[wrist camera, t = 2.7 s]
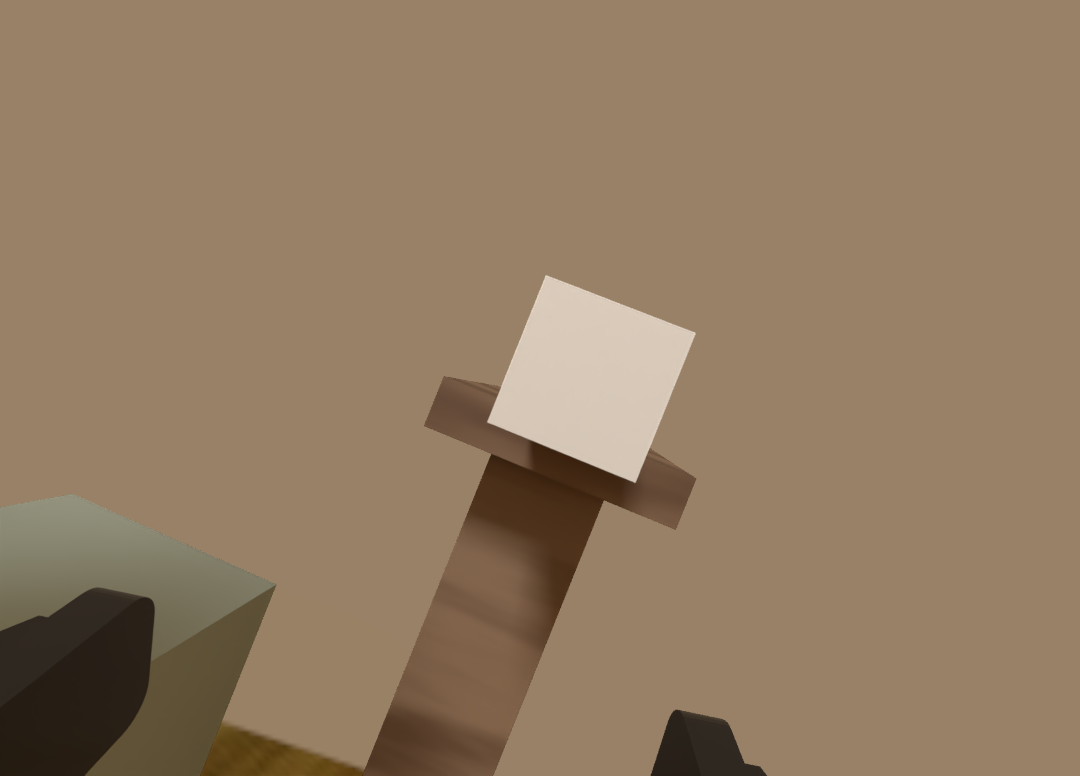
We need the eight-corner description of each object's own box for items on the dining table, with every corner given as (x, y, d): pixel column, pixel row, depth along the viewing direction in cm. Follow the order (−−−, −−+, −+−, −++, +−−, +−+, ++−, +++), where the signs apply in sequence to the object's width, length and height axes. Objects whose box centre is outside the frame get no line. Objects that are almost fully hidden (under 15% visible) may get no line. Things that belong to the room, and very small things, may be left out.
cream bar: (635, 482, 10) (695, 333, 10) (487, 422, 10) (546, 275, 10) (592, 423, 36) (610, 381, 36) (550, 406, 36) (567, 364, 36)
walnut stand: (368, 1293, 20) (696, 478, 20) (128, 1165, 21) (443, 376, 21) (453, 927, 34) (646, 446, 34) (307, 857, 35) (497, 385, 35)
